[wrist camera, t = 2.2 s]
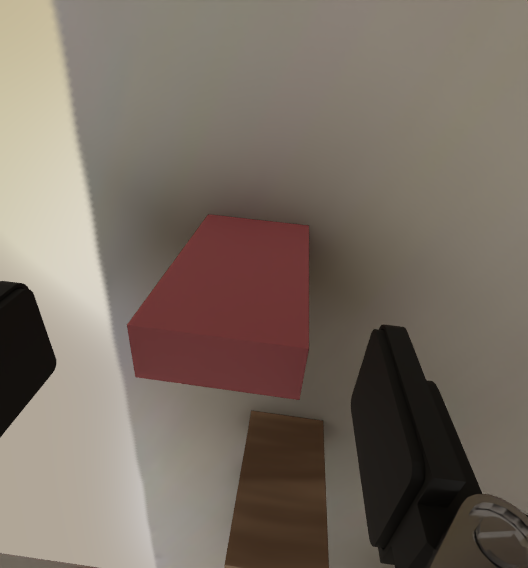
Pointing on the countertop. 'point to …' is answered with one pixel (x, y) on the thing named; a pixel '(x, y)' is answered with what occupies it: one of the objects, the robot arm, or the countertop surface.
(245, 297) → the maroon domino
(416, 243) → the countertop surface
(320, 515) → the domino
